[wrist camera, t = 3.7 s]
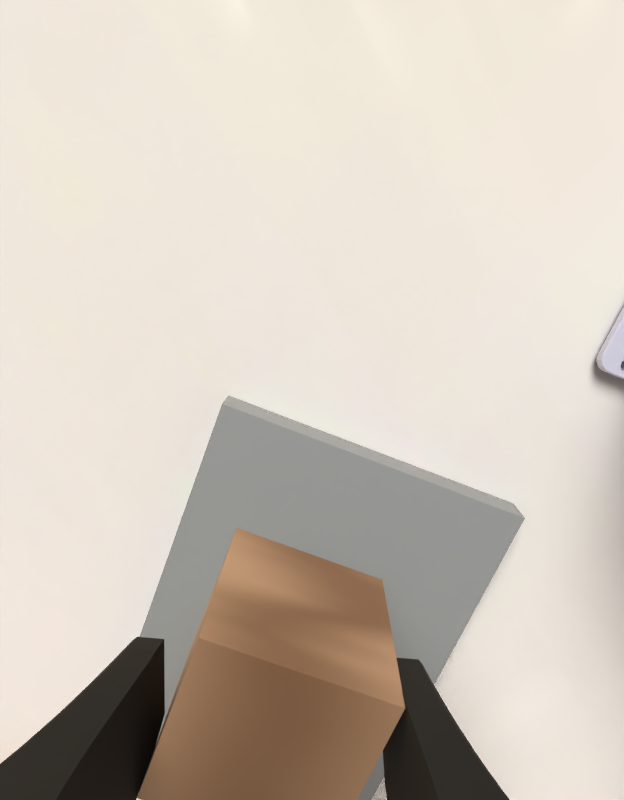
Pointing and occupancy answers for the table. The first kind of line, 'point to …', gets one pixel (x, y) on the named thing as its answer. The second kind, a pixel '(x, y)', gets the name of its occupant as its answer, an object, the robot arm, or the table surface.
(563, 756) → the table surface
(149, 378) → the table surface
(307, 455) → the build board
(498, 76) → the table surface
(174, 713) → the walnut block
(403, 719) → the robot arm
